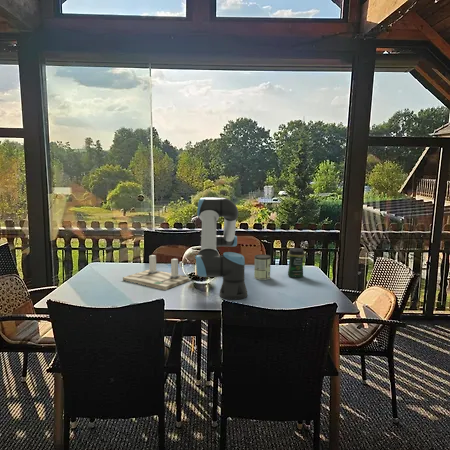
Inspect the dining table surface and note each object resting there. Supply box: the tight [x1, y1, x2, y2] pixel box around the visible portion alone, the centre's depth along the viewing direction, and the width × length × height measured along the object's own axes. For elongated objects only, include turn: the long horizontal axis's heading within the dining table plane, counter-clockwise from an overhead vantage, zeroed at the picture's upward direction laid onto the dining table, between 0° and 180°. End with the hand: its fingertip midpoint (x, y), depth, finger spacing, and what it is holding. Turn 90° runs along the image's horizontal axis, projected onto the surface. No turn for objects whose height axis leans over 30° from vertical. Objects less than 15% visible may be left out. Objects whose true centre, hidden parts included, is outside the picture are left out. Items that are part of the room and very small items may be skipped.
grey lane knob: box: [148, 254, 159, 274], centre depth 254 cm, size 5×4×11 cm
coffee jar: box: [287, 247, 305, 279], centre depth 257 cm, size 10×8×19 cm
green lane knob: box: [170, 258, 181, 278], centre depth 245 cm, size 5×4×11 cm
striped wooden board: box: [122, 269, 190, 291], centre depth 246 cm, size 24×34×2 cm
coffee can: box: [253, 253, 272, 281], centre depth 253 cm, size 10×10×14 cm
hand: (180, 264), depth 249 cm, fingers closed
